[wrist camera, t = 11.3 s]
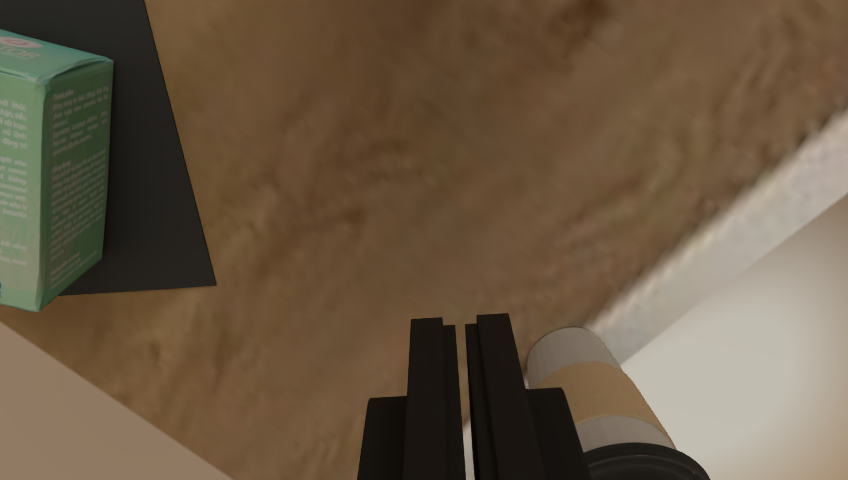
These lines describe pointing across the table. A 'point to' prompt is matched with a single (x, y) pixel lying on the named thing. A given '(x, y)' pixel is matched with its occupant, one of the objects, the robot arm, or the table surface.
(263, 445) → the table surface
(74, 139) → the box
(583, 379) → the coffee cup
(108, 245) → the mat
